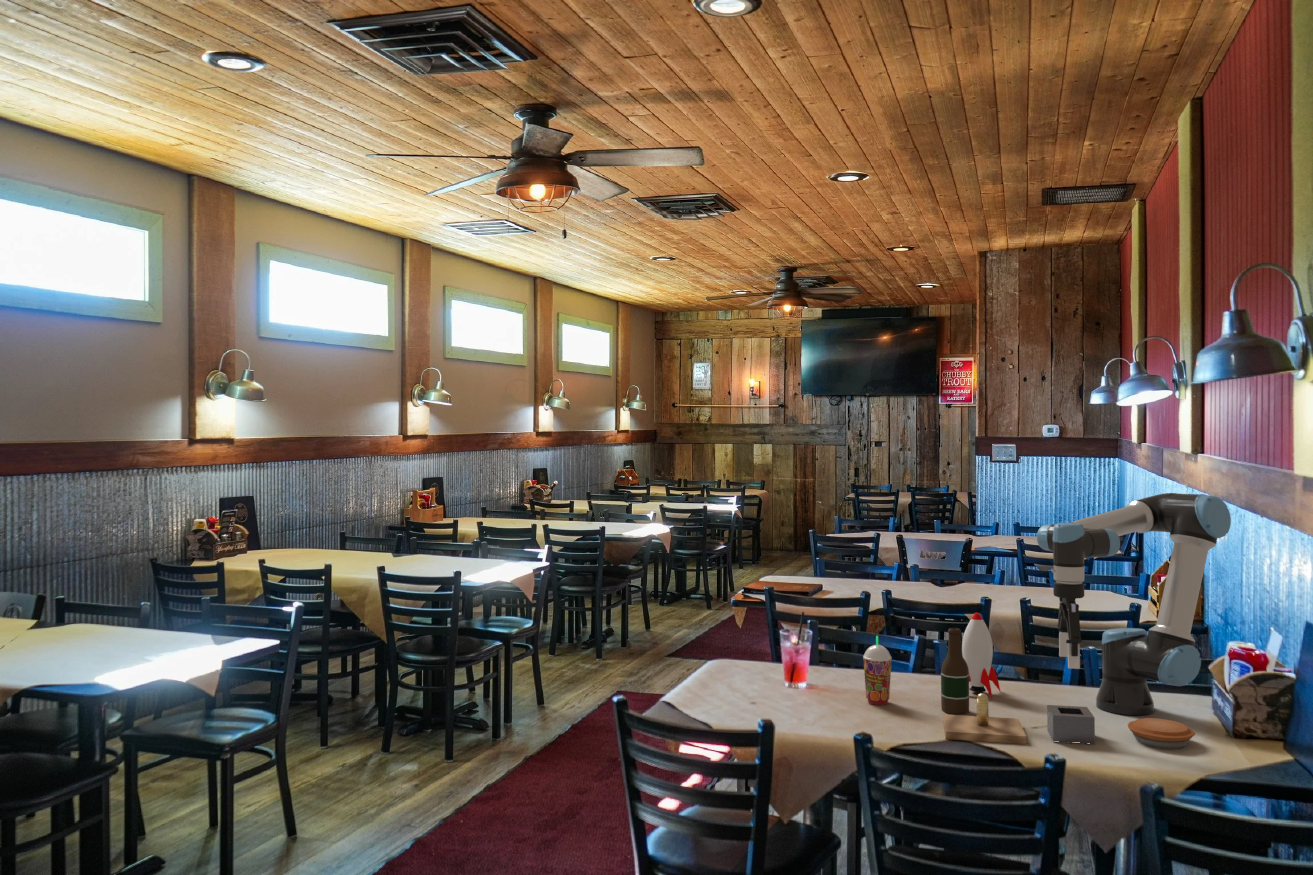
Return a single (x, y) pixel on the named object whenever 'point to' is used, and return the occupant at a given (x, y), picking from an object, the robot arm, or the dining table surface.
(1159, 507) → the robot arm
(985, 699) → the post
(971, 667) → the rocket
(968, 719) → the board
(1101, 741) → the dining table surface
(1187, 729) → the pie
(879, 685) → the smoothie
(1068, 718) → the grey square socket block
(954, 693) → the beer bottle
